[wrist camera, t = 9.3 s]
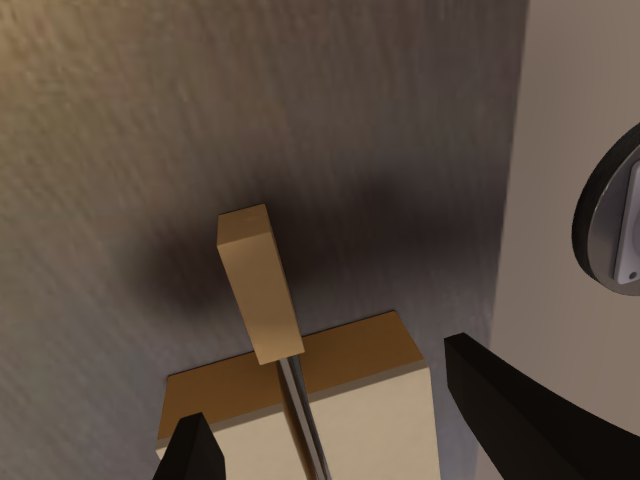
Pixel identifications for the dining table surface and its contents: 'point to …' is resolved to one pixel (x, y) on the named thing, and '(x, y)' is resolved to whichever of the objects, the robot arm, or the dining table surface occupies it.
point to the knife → (266, 303)
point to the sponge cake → (319, 408)
